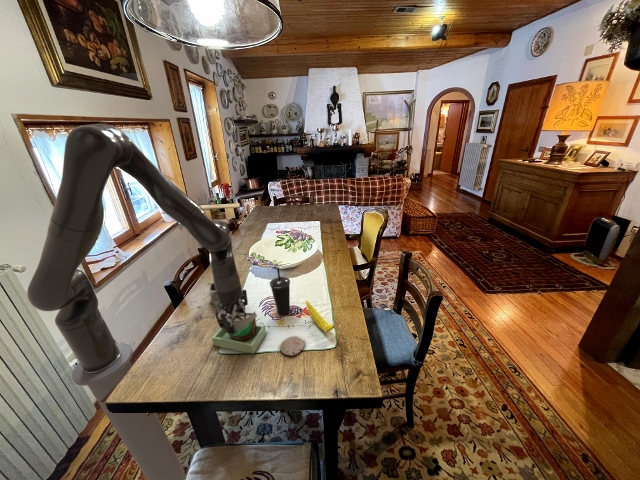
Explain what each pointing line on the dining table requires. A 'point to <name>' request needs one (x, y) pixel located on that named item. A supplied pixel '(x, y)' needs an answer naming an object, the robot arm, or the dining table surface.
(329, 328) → the banana
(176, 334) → the dining table surface
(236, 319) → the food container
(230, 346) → the holder
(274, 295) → the drinking cup
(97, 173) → the robot arm
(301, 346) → the flatbread
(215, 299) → the hiking shoe
